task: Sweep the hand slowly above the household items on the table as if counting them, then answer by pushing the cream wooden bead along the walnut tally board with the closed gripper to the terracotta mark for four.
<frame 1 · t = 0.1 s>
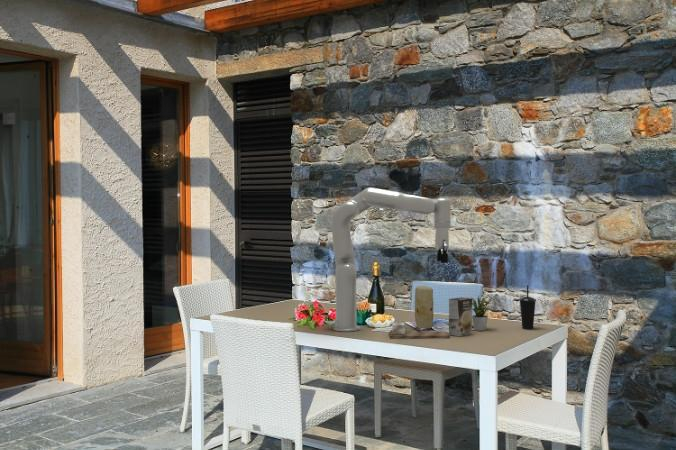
hand: (442, 261, 341), 31 cm above the table, fingers open, 9 cm apart
coffee box: (460, 334, 328), on the table
tally board: (418, 336, 324), on the table
drinking cup: (527, 328, 341), on the table
food model: (423, 329, 342), on the table
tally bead: (398, 328, 324), point 4 cm above the table, slide at 0.0 cm
house plant: (481, 330, 338), on the table
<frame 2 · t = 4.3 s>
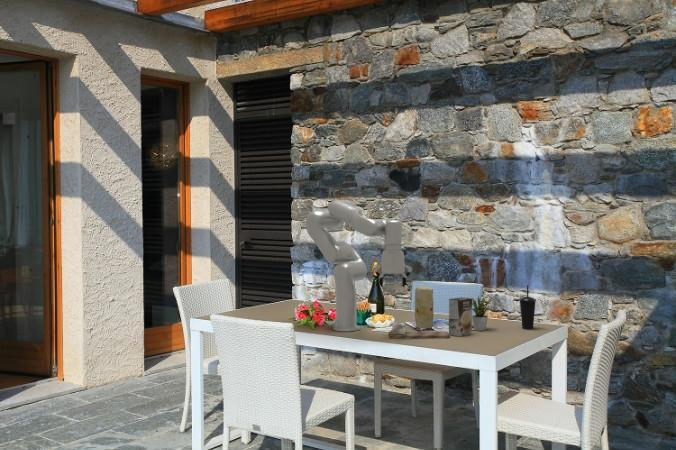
hand: (392, 286, 325), 22 cm above the table, fingers open, 9 cm apart
nothing on the table moved.
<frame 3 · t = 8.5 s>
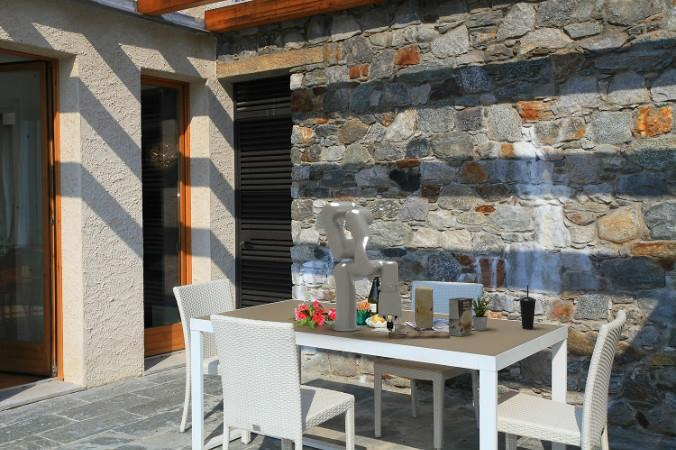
hand: (390, 330, 324), 3 cm above the table, fingers closed
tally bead: (400, 328, 324), point 4 cm above the table, slide at 1.0 cm, touching gripper
everything else where it was.
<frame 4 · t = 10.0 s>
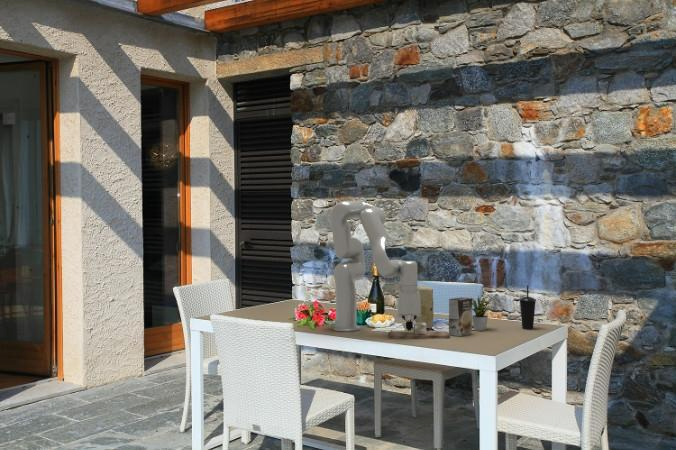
hand: (409, 330, 324), 3 cm above the table, fingers closed
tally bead: (419, 328, 324), point 4 cm above the table, slide at 9.5 cm, touching gripper
everything else where it was.
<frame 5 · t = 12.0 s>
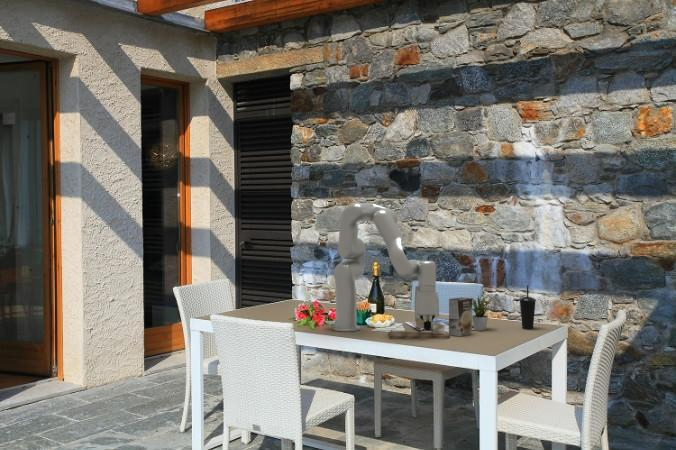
hand: (427, 330, 324), 3 cm above the table, fingers closed
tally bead: (437, 328, 324), point 4 cm above the table, slide at 17.5 cm, touching gripper
everything else where it was.
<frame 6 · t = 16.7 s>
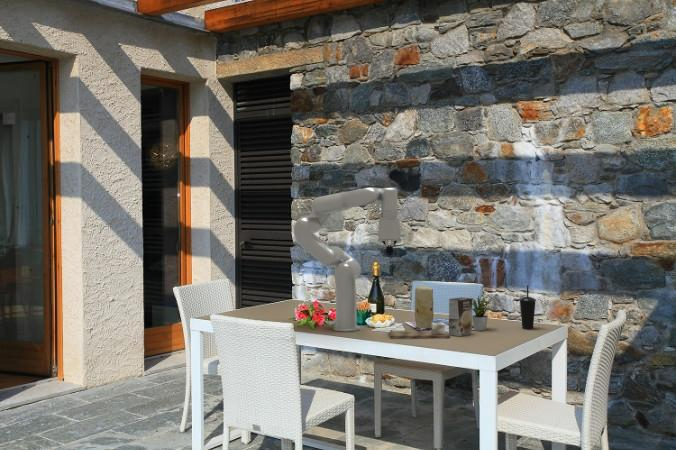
hand: (389, 255, 335), 35 cm above the table, fingers closed
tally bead: (438, 328, 324), point 3 cm above the table, slide at 17.5 cm
everything else where it was.
at the end: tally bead slide at 17.5 cm; coffee box moved 0.2 cm from its start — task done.
